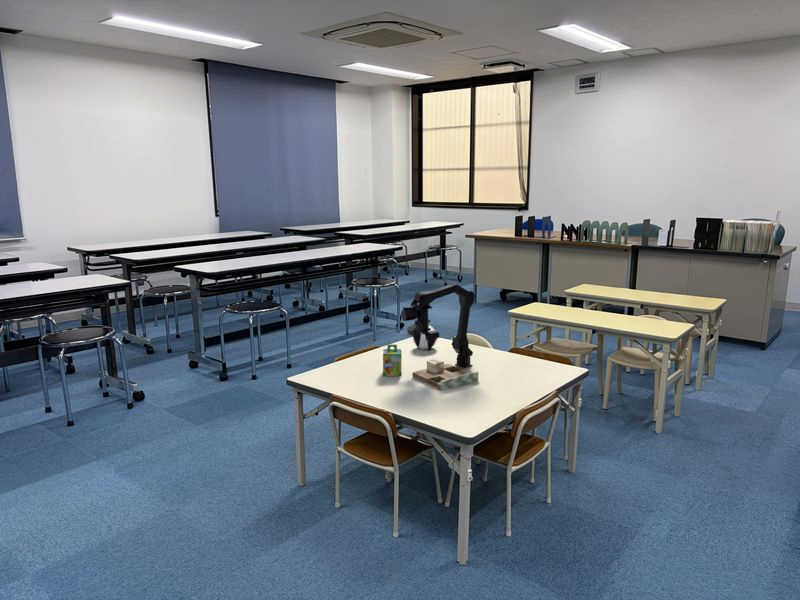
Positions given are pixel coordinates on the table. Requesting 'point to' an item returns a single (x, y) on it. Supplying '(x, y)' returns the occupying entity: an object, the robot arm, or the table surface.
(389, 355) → the chalk box
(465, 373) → the board
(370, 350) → the table surface
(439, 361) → the block
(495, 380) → the table surface
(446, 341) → the table surface
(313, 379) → the table surface
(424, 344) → the geodesic sphere
